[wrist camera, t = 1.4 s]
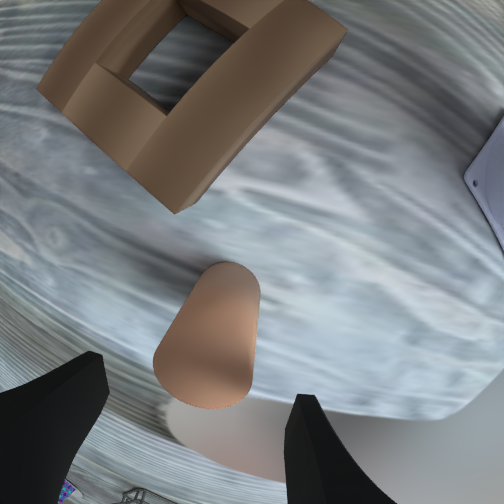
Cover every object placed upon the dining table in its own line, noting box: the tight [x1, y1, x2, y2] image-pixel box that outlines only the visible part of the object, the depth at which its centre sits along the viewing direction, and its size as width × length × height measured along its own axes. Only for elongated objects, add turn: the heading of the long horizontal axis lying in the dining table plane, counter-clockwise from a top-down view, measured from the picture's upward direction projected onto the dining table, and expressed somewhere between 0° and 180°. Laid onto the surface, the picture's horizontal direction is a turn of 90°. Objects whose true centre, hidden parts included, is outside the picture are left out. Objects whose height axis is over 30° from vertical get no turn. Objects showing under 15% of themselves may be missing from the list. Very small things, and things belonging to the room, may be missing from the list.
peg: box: [153, 262, 260, 409], centre depth 14 cm, size 4×4×8 cm
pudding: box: [58, 479, 83, 503], centre depth 31 cm, size 12×12×5 cm
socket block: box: [36, 0, 348, 214], centre depth 12 cm, size 12×12×4 cm
